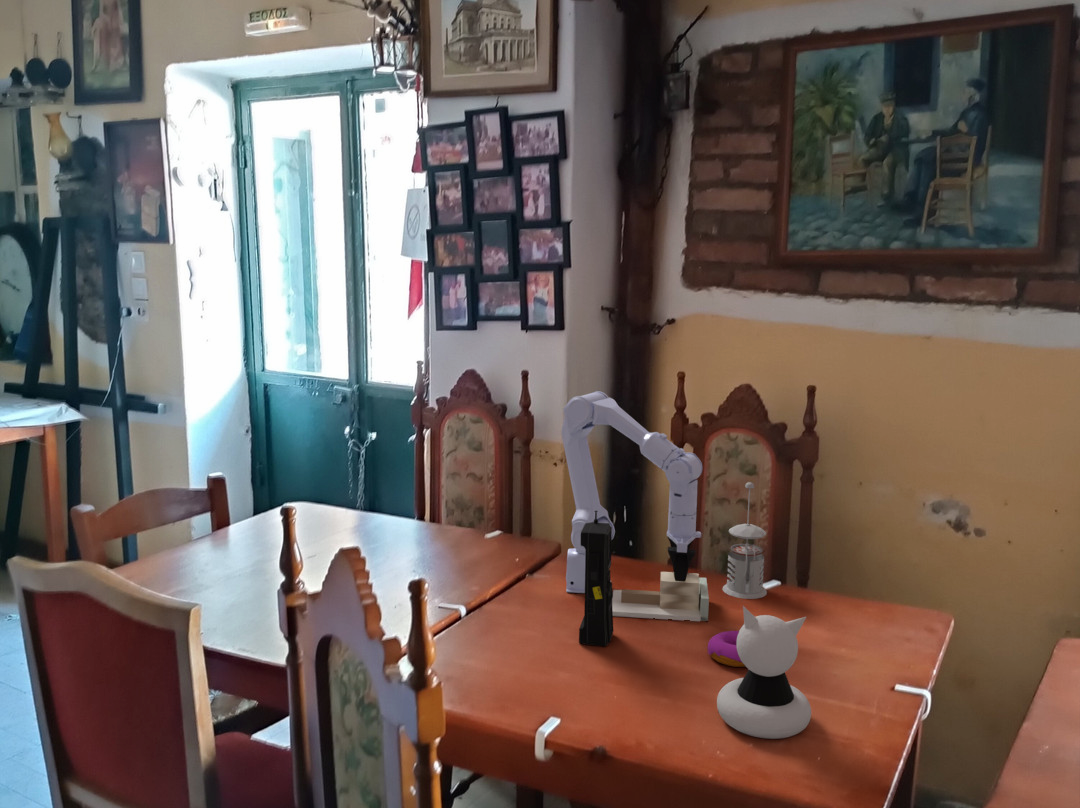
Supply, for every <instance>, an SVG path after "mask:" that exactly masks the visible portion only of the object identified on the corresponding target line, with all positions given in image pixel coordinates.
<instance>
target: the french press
mask: <svg viewBox="0 0 1080 808" xmlns="http://www.w3.org/2000/svg"><path fill="white" fill-rule="evenodd" d="M745 489H748V502H747V503H748V505H747V508H748V509H747V523H742V524H736V525H734V526H733V527H731V528H729V530H728V533H729V534H730V535H731V536H733V537H735V538H739V539H744V540H746V543H737V544H733V545H731V546H730V548H729V549H730V552H728V554H727V555H728V556H727V557H728V558H727V560H728V562H727V566H728V567H729V568H727V572H728V573H727V576H726V577H727V578H729V579H726V584H724V585H723V586H722V591H723V592H724V594H727V595H728V596H731V597H734V598H738V599H748V600H753V599H754V600H755V599H761V598H764V597H766V595H767V594H768V590H766V589H765V588H764V568H765V566H764V565H765V564H764V563H765V556H764V554H763V553H764V549H763V548H762V547H760V546H758V545H755V544H754V543H753V544H749V541H748V540H759V539H762V538H763V537H765V536H766V535H767V532H766V531H765V530H764V529H763V528H762V527H759V526H758V525H754V524H751V523H749V519H750V504H751V503H750V502H751V500H750V499H751V489H755V484H754V483H753V482H750V481H748V482H746V483H745ZM729 562H730V563H729ZM733 577H734V578H733Z"/></svg>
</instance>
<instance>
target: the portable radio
mask: <svg viewBox="0 0 1080 808" xmlns="http://www.w3.org/2000/svg"><path fill="white" fill-rule="evenodd" d="M594 512H595V519H594V522H590V523H585V525H584V527H583V529H582V531H581V546H583V547H584V548H585V549H586V550H585V593H584V613H583V614H584V615H583V618H582V621H581V623H580V626H579V630H578V643H579V644H582V645H588V646H597V647H608V645H609V644H610V643H611V641H612V639H613V635H614V630H615V629H614V619H613V618H614V616H613V610H612V598H613V591H614V590H613V583H612V581H611V582H610V580H611V570H610V569H611V566H612V540H613V539H612V527H611V526H610V524H609V523H598V519H597V512H598V511H594Z"/></svg>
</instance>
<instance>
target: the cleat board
mask: <svg viewBox="0 0 1080 808" xmlns="http://www.w3.org/2000/svg"><path fill="white" fill-rule="evenodd" d="M707 582H708V581H707V577H700V576H699V583H700V584H699V609H698V611H696V610H680V609H664V608H660V590H659V591H655V590H643V589H642V590H641V589H640V590H638V589H624V588H623V589H613V590H612V591H613V598H612V610H613V617H621V618H622V617H624V618H625V617H626V618H639V619H640V618H641V619H653V618H655V619H654V620H657V619H658V620H668V619H672V620H671V621H684V620H690V621H689V622H700V621H708V622H709V609H710V608H709V607H710V606H709V605H710V596H709V588H708V583H707Z"/></svg>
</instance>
